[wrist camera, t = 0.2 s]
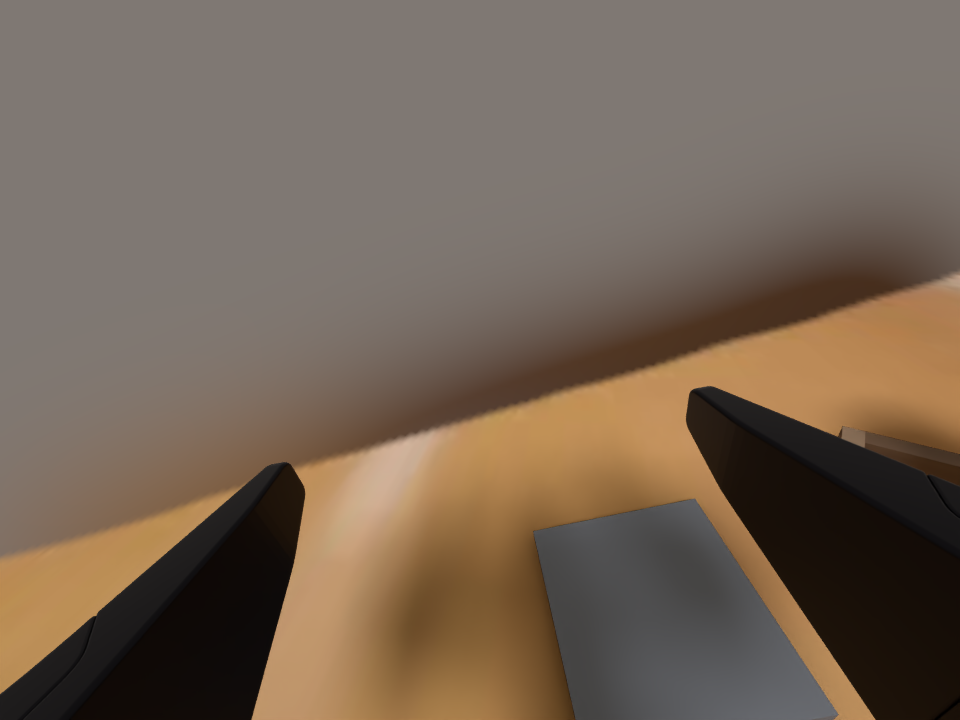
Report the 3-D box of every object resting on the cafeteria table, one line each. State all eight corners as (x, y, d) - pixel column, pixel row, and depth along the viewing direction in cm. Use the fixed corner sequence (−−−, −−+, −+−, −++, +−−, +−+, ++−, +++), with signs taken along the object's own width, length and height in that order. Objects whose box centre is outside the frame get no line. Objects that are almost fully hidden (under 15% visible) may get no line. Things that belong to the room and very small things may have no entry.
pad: (833, 719, 15) (838, 714, 15) (585, 764, 16) (585, 760, 15) (693, 504, 24) (694, 498, 23) (534, 536, 24) (533, 531, 24)
